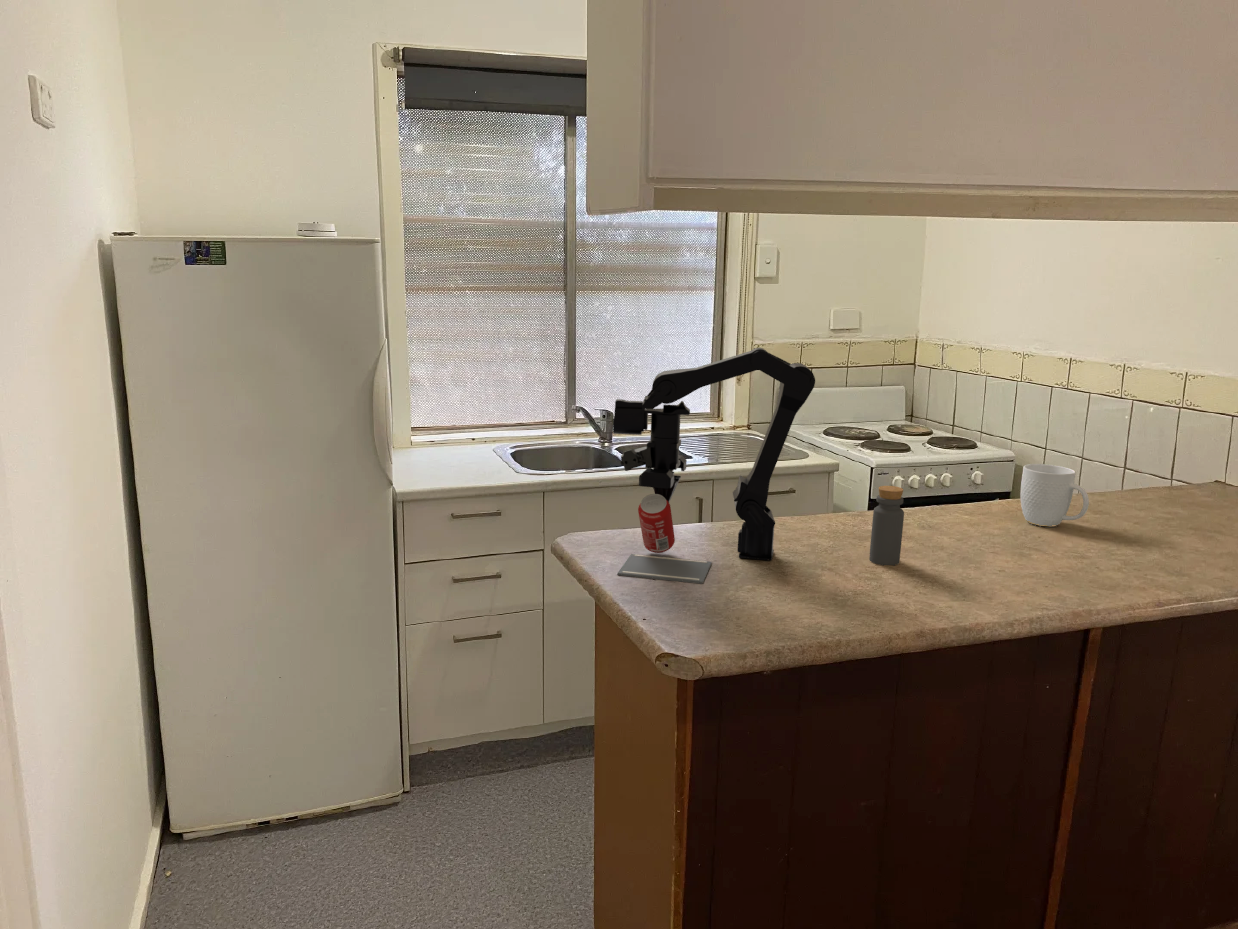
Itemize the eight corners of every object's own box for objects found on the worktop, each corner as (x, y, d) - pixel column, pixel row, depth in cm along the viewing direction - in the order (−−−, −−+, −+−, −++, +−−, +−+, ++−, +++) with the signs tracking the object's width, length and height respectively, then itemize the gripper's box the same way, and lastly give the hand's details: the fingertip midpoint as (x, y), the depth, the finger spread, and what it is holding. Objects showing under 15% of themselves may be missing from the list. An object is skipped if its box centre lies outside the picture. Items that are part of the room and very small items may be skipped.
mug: (1093, 528, 215) (1101, 472, 212) (1074, 537, 207) (1082, 479, 204) (1028, 514, 225) (1034, 461, 222) (1008, 522, 217) (1015, 467, 215)
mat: (711, 563, 182) (711, 561, 182) (702, 583, 171) (702, 581, 171) (631, 555, 186) (631, 553, 186) (617, 575, 174) (617, 572, 174)
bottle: (901, 559, 188) (908, 487, 185) (896, 567, 183) (904, 493, 180) (871, 555, 190) (878, 483, 187) (866, 563, 185) (873, 489, 182)
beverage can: (675, 531, 190) (669, 490, 182) (675, 555, 186) (669, 514, 177) (644, 533, 191) (637, 492, 183) (643, 557, 186) (636, 516, 178)
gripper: (635, 425, 195) (633, 497, 198) (613, 441, 177) (611, 521, 181) (688, 428, 193) (685, 502, 196) (671, 445, 175) (668, 526, 178)
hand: (662, 512), depth 188 cm, fingers closed
